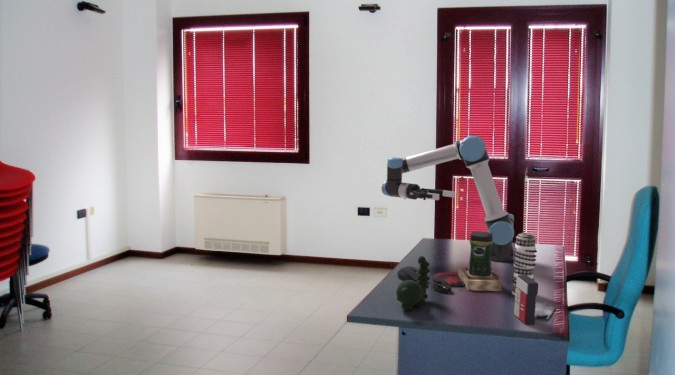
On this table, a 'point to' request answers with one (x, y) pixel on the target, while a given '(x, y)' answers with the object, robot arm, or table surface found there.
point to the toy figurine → (414, 287)
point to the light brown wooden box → (480, 281)
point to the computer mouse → (412, 274)
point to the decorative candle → (524, 257)
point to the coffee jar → (480, 253)
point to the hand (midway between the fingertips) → (447, 195)
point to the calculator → (525, 299)
